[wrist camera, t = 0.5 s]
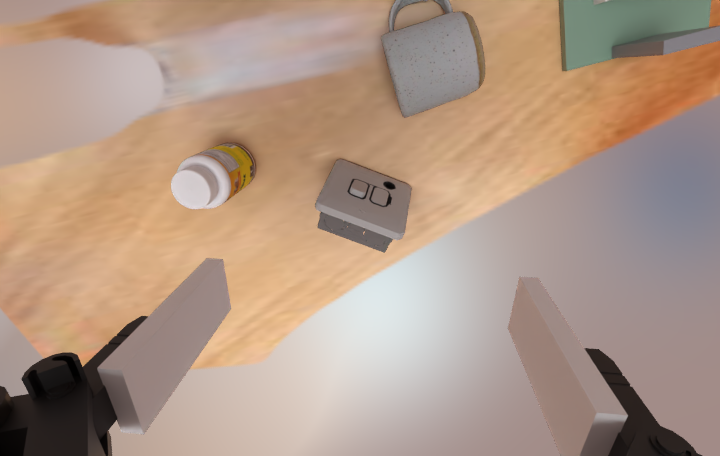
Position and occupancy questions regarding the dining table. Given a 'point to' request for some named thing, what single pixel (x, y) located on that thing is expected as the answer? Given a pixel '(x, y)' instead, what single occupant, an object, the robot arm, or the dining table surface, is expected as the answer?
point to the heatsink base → (631, 29)
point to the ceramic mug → (433, 59)
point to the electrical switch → (363, 205)
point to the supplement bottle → (213, 176)
